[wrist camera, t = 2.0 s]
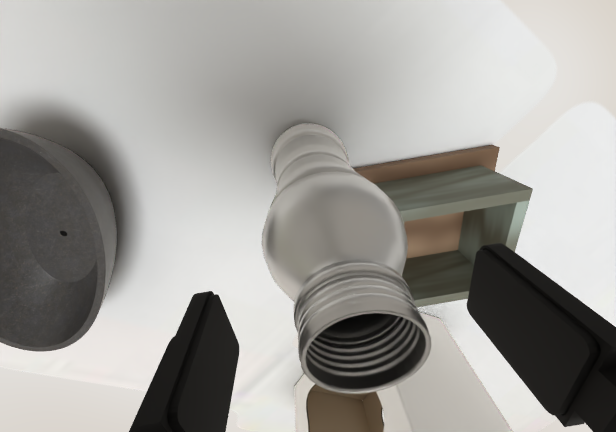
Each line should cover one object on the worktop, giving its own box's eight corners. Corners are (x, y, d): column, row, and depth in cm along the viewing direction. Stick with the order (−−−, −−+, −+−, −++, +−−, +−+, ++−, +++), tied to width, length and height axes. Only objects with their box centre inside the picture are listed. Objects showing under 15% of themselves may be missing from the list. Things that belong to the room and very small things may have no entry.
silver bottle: (308, 101, 22) (400, 196, 5) (355, 158, 25) (523, 351, 8) (256, 153, 24) (184, 361, 7) (306, 200, 27) (348, 439, 9)
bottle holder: (350, 168, 26) (372, 198, 19) (492, 144, 26) (557, 166, 19) (358, 277, 32) (376, 324, 26) (470, 257, 32) (514, 300, 26)
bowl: (155, 143, 23) (115, 164, 18) (129, 312, 32) (97, 360, 27) (-13, 85, 20) (-123, 88, 15) (10, 289, 29) (-52, 338, 24)
